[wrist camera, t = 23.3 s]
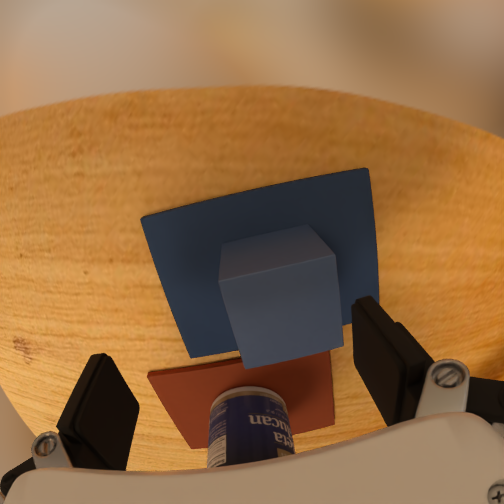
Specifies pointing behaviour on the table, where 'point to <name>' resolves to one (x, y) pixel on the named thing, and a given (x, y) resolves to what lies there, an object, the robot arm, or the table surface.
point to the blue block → (281, 295)
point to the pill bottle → (248, 427)
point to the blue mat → (252, 224)
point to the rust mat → (235, 375)
